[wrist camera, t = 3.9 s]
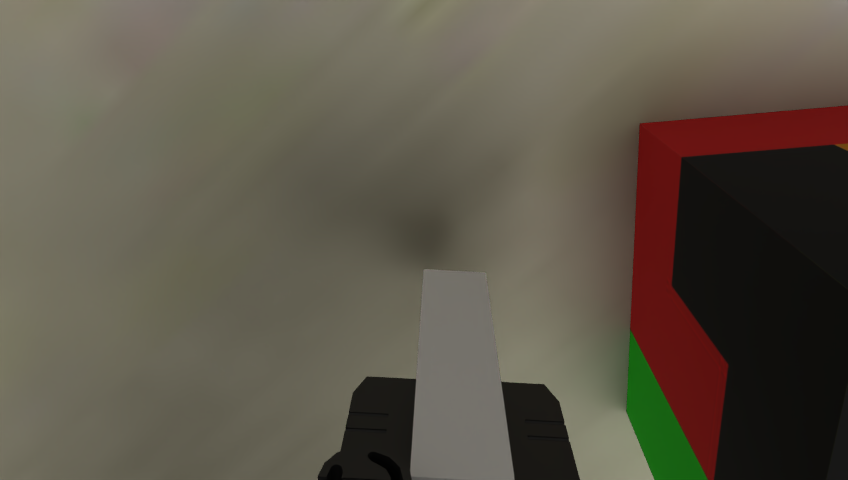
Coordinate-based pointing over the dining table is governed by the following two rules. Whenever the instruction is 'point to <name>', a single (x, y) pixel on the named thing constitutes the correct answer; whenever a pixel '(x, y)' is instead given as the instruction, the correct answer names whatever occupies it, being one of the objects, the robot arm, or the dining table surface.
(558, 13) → the dining table surface
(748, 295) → the puzzle toy
